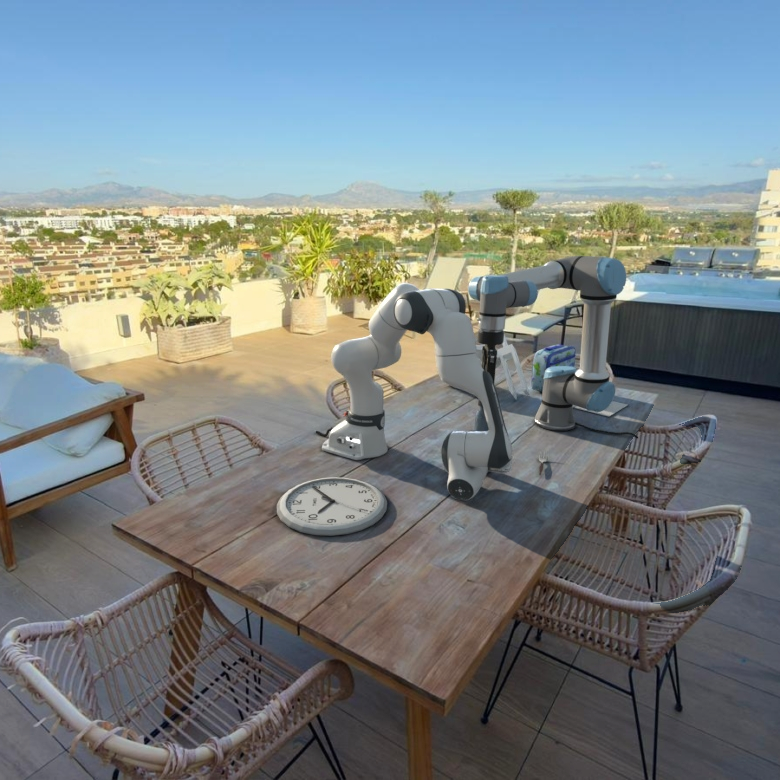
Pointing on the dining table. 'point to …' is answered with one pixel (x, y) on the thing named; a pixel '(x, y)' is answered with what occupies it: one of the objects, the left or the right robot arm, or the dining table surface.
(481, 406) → the cap
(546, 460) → the fork
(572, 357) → the lunch box
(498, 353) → the white plastic object
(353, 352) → the left robot arm
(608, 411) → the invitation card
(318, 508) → the wall clock
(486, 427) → the bottle
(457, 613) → the dining table surface
